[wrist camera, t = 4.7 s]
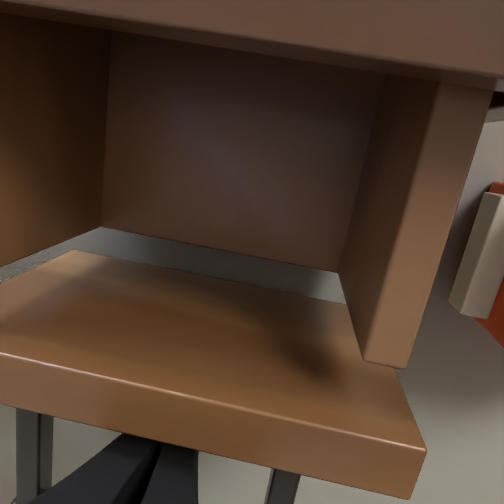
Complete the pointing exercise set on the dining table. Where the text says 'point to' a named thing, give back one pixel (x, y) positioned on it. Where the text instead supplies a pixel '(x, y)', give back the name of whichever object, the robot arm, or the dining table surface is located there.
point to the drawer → (221, 238)
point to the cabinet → (318, 32)
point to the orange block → (484, 267)
